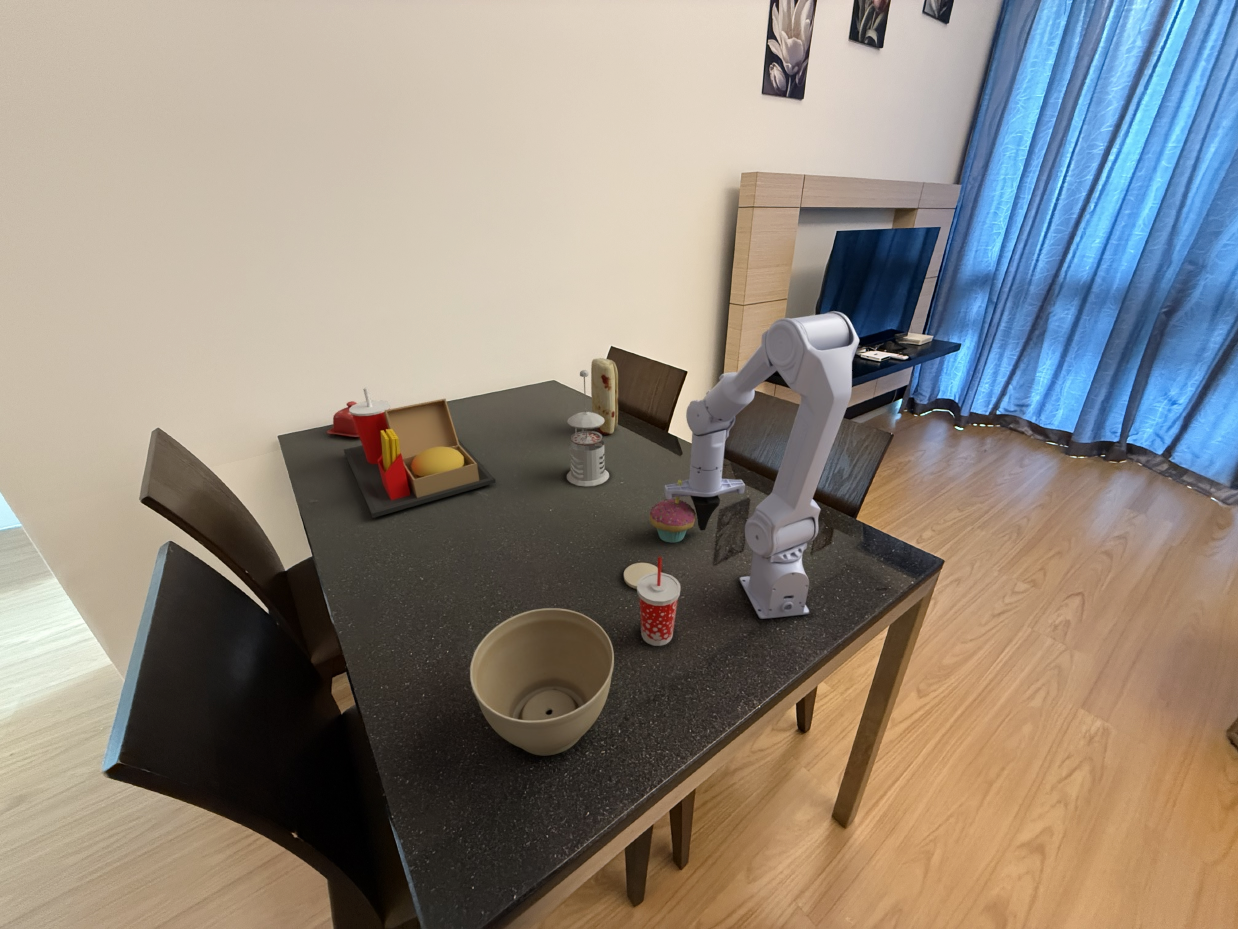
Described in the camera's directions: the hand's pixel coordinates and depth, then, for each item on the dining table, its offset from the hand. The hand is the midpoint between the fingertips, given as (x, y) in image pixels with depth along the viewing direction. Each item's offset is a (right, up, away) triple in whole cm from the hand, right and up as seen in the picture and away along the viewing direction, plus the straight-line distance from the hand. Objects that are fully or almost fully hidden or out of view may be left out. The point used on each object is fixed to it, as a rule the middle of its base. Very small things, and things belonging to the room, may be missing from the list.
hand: (701, 527), depth 100 cm
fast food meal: (-63, +10, +24) cm, 68 cm away
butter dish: (-87, +21, +45) cm, 100 cm away
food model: (-19, +21, +44) cm, 52 cm away
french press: (-23, +9, +22) cm, 33 cm away
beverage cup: (-10, -13, -22) cm, 28 cm away
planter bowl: (-24, -20, -35) cm, 47 cm away
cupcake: (-6, -2, 0) cm, 6 cm away
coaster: (-12, -7, -11) cm, 17 cm away
